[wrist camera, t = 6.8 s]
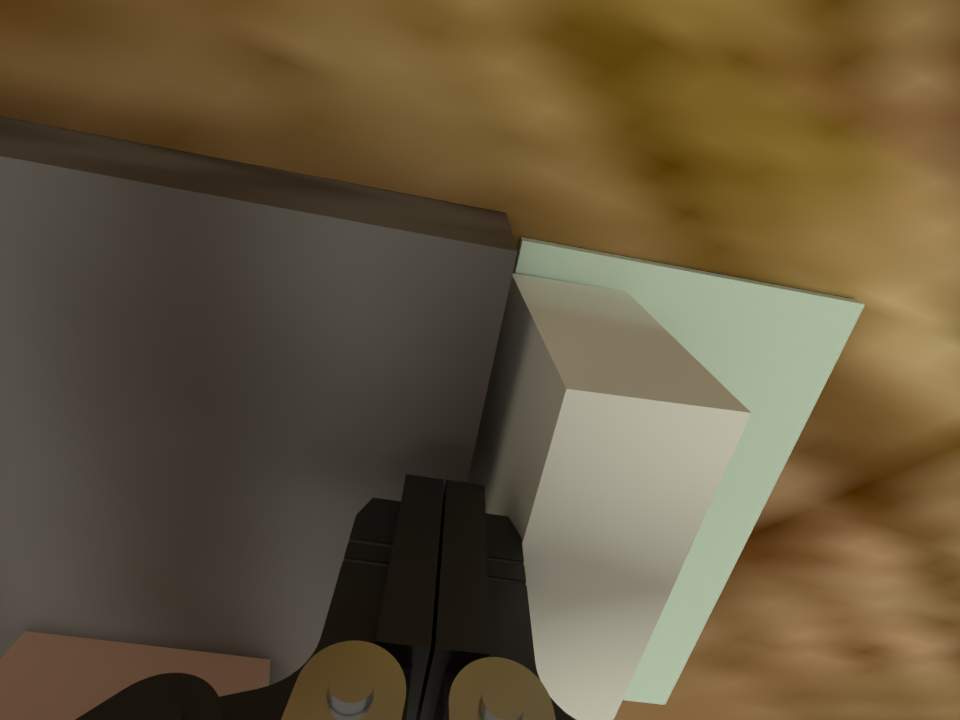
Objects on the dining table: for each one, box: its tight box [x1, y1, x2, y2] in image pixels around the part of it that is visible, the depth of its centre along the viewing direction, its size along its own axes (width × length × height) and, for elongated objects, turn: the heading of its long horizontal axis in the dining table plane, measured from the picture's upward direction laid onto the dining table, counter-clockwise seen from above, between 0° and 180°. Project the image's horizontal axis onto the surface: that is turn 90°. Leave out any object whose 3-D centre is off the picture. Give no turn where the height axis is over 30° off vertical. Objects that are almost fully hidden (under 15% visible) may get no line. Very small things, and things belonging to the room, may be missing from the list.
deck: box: [0, 117, 517, 685], centre depth 15 cm, size 12×17×4 cm
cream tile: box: [467, 273, 751, 720], centre depth 13 cm, size 6×8×3 cm
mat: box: [513, 237, 865, 705], centre depth 17 cm, size 9×16×1 cm, turn 169°
